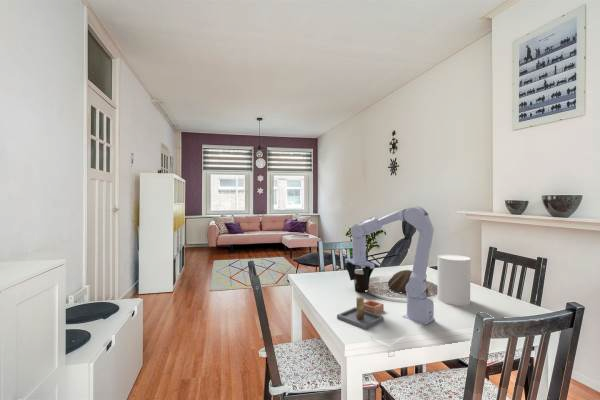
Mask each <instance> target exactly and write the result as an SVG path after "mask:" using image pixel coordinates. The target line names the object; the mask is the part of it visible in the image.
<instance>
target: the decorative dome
mask: <svg viewBox="0 0 600 400" xmlns="http://www.w3.org/2000/svg"><path fill="white" fill-rule="evenodd" d="M412 271H413V270H410V269H405V270H404V269H403V270H400V271H397V272H396V273H394V274H393V275H392V276H391V278H390V279H388V282H387V283H388V284H387V285H388V290H390V289H391V290H390V291H393V290H394V291H393V292H395V291H396V292H402V293H401V294H404V293H406V290H405V286H406V284H407V283H408V282H409V279H410V276H411V273H412ZM425 291H429V288H428V287H427V289H426V290H425ZM396 292H395V293H396Z"/></svg>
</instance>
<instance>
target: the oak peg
mask: <svg viewBox="0 0 600 400" xmlns="http://www.w3.org/2000/svg"><path fill="white" fill-rule="evenodd" d="M364 302H365V297H363V296H357V297H356V302H355V303H356V306H355V307H356V309H357V319H358V320H363V319H364Z"/></svg>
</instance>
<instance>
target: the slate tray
mask: <svg viewBox="0 0 600 400" xmlns="http://www.w3.org/2000/svg"><path fill="white" fill-rule="evenodd" d="M336 318H337V319H338V320H341V321H343V322H346V323H348V324H350V325H353V326H356V327H358V328H360V329H362V330H368V329H370V328H372V327H375V325H377V324H379V323H382V322H383V321H384V319H385V318H384V316H382V315H380V314H378V313H377V314H374V313H371V312H368V311H365V310H364V319H363V320H358V319H357V309H356V306H355V307H352V308H350V309H348V310H345V311H342V312H341V313H338V314H337V315H336Z"/></svg>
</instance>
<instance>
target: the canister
mask: <svg viewBox="0 0 600 400" xmlns="http://www.w3.org/2000/svg"><path fill="white" fill-rule="evenodd" d="M471 260H472V258H470V257H469V256H465V255H461V254H451V253H446V254H443V253H440V254H438V255H437V276H436V277H437V294H436V296H437V300H438V301H440V302H441V303H444V304H446V305H452V306H459V307H460V306H462V307H463V306H469V305H470V304H471Z"/></svg>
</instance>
